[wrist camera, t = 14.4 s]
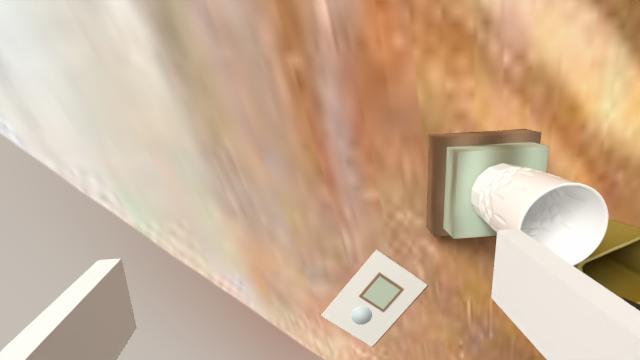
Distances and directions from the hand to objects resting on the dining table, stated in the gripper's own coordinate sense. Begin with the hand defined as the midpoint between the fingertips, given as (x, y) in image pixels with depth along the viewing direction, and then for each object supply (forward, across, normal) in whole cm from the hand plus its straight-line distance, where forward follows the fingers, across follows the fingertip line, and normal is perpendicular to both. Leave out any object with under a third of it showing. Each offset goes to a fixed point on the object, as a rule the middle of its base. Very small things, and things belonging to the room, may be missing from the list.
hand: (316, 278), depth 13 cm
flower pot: (+32, +35, -17) cm, 50 cm away
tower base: (+32, +22, -7) cm, 39 cm away
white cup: (+26, +21, -6) cm, 34 cm away
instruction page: (+32, +8, -23) cm, 40 cm away
